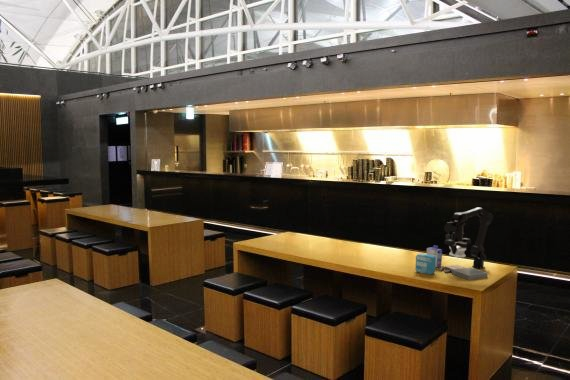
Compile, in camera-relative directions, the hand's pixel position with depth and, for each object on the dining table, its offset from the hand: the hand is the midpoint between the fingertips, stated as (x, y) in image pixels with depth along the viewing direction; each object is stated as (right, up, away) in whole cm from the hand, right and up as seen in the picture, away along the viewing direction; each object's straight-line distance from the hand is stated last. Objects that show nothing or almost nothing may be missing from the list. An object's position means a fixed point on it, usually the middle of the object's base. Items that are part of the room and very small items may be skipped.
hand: (457, 253), depth 328 cm
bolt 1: (-11, -11, +1) cm, 16 cm away
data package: (-23, -12, -5) cm, 27 cm away
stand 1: (0, -11, +1) cm, 12 cm away
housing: (0, -1, 0) cm, 1 cm away
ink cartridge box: (-12, -10, +13) cm, 21 cm away
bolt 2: (-8, -12, -5) cm, 15 cm away
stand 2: (+4, -13, -12) cm, 18 cm away
